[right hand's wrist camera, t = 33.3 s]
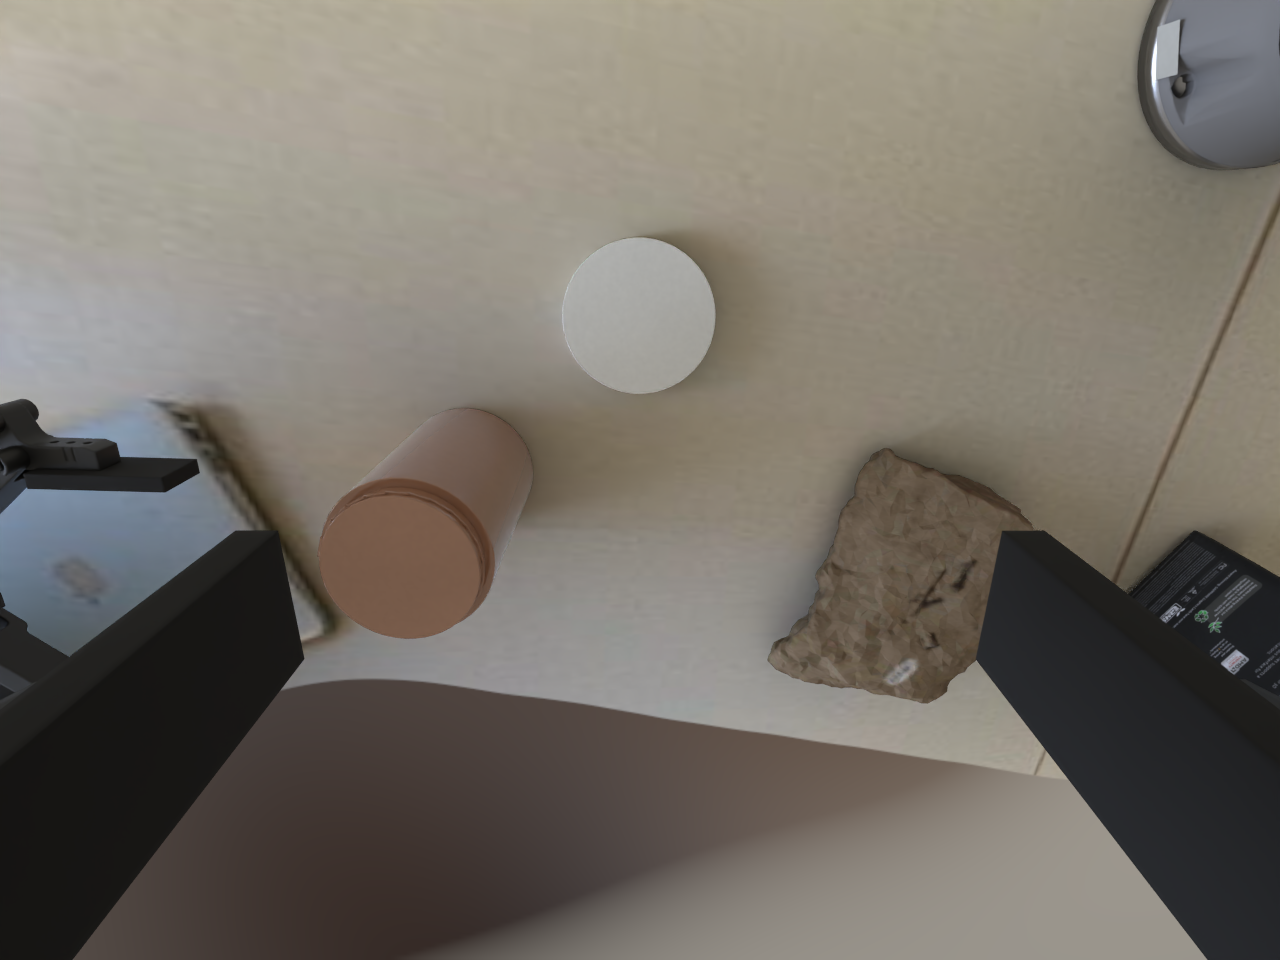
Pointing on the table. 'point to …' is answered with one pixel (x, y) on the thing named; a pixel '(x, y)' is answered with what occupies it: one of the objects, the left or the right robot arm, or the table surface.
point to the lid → (639, 315)
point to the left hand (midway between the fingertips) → (209, 596)
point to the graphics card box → (1220, 607)
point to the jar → (427, 526)
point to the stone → (901, 583)
